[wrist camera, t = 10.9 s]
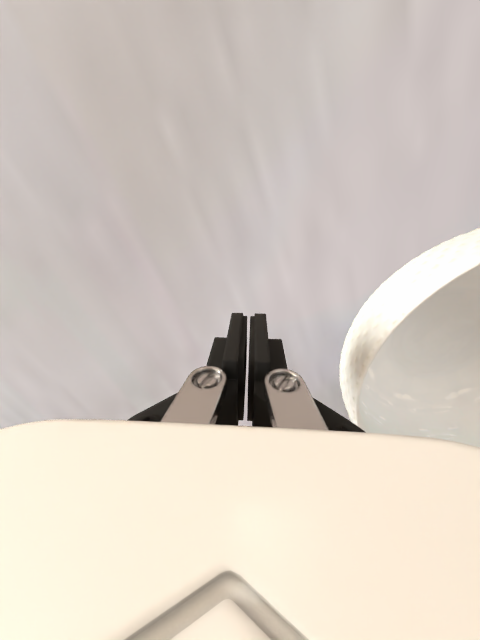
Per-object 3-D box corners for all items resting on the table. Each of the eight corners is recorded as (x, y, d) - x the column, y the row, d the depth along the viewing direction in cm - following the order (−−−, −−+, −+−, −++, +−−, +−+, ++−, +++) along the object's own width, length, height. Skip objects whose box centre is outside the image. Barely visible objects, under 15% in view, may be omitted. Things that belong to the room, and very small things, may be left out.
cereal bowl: (322, 418, 22) (350, 500, 16) (314, 238, 16) (358, 255, 9) (519, 400, 21) (641, 485, 14) (605, 187, 14) (910, 165, 7)
